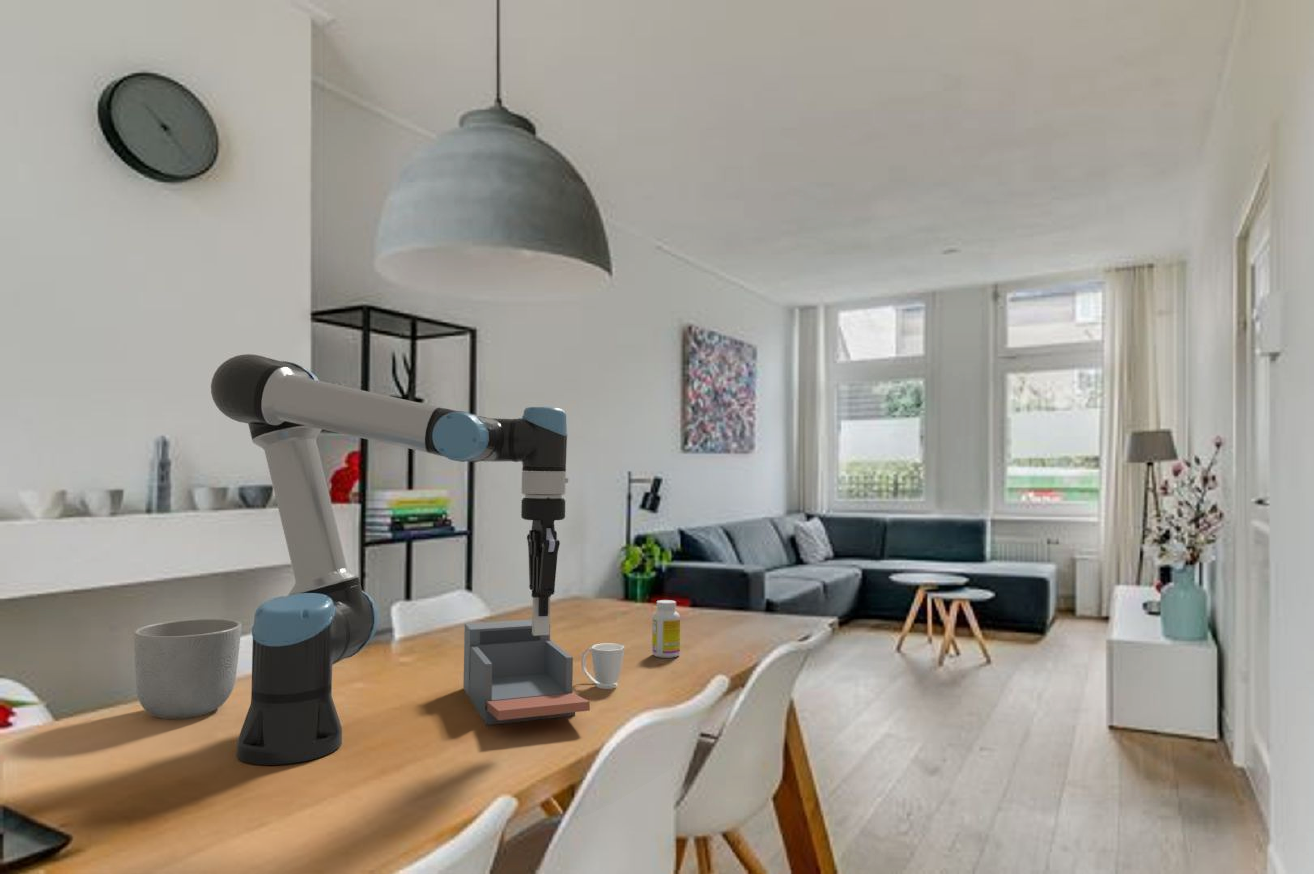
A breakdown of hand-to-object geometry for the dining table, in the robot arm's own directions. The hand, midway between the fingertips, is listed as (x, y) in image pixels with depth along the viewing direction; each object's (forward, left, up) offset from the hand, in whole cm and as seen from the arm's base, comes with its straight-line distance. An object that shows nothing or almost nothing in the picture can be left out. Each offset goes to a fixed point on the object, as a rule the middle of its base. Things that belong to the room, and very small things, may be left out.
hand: (540, 634), depth 140 cm
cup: (+19, +23, -16) cm, 34 cm away
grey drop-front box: (0, +15, -16) cm, 22 cm away
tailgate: (0, +6, -13) cm, 15 cm away
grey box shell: (0, +27, -16) cm, 32 cm away
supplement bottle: (+42, +43, -16) cm, 63 cm away
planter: (-57, +31, -16) cm, 67 cm away
